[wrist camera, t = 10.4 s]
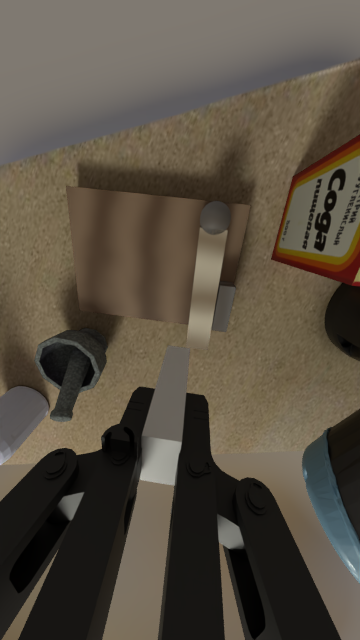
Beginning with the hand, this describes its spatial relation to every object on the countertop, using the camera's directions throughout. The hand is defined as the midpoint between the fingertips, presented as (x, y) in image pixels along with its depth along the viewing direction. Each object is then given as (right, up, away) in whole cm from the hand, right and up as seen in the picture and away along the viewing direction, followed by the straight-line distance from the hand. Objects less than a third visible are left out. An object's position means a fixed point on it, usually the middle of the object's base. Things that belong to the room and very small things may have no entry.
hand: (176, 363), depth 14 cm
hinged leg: (+4, +8, +13) cm, 16 cm away
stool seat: (-3, +11, +15) cm, 19 cm away
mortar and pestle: (-16, -2, +22) cm, 27 cm away
